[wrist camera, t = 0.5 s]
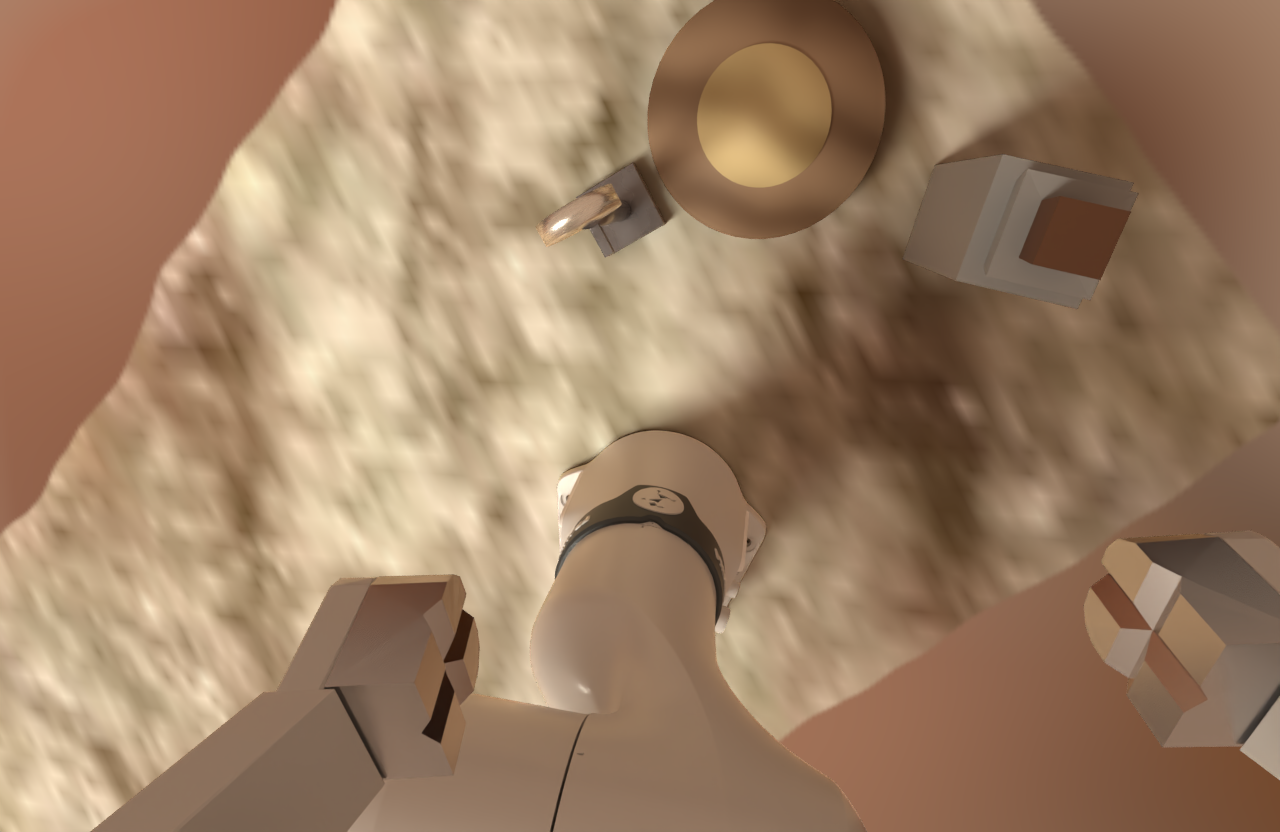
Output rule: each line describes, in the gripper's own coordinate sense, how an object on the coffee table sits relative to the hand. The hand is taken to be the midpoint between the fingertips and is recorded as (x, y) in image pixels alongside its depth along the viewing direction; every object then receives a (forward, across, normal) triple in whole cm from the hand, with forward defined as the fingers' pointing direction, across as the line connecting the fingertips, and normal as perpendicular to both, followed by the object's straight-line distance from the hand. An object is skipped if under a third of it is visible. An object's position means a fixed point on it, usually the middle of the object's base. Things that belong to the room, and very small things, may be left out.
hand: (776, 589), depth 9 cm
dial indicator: (+46, -4, -8) cm, 47 cm away
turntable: (+46, +7, -3) cm, 47 cm away
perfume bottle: (+43, +21, -10) cm, 49 cm away
